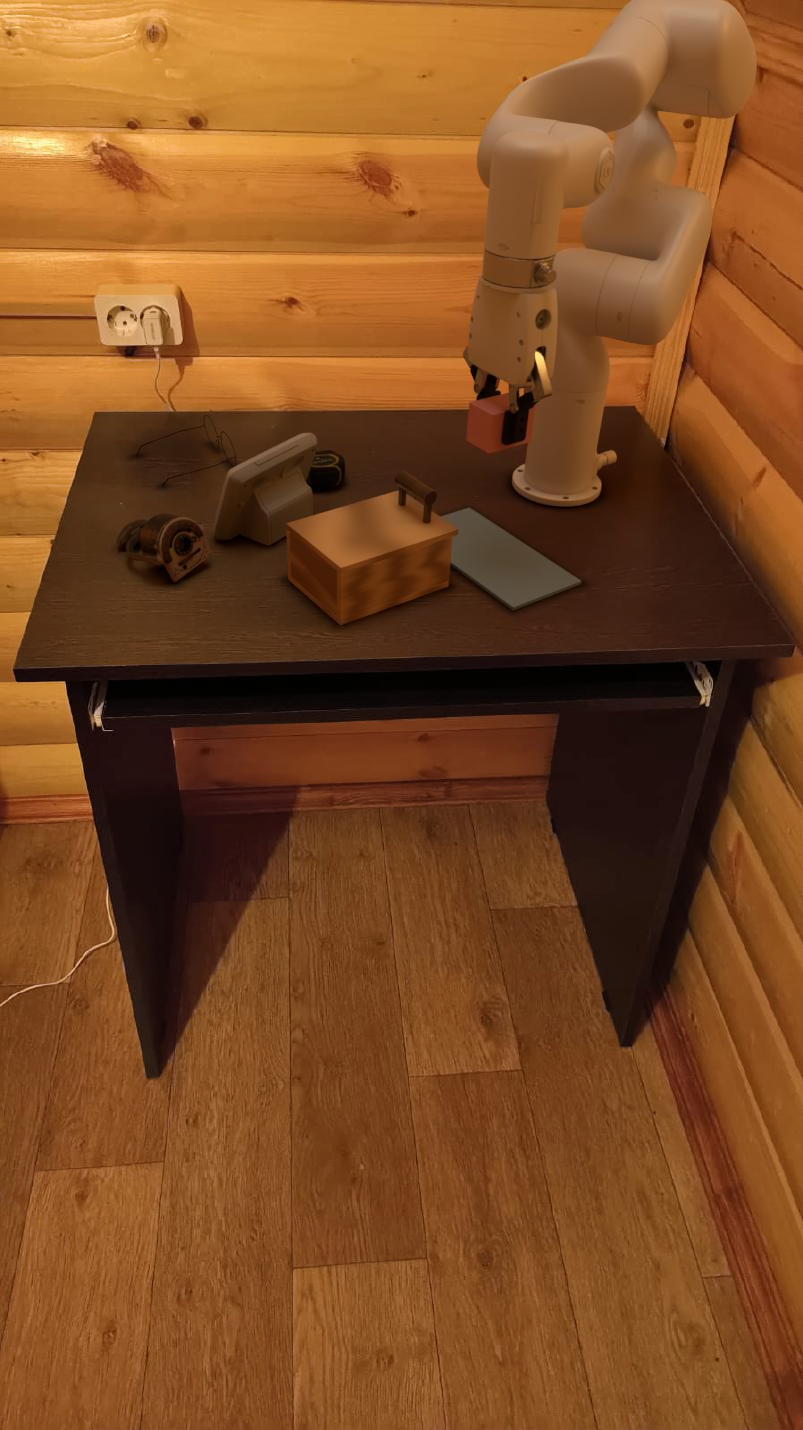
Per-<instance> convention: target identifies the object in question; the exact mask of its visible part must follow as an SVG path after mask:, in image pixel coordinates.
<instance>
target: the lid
mask: <svg viewBox="0 0 803 1430" xmlns="http://www.w3.org/2000/svg"><path fill="white" fill-rule="evenodd" d="M394 483H395V485H396V486H398V490H395V491H391V492H388V493H385V494H381V495H378V496H374V497H371V498H367V499H364V500H360V501H357V502H353V503H351V504H348V505H344V506H340V507H337V508H333V509H330V510H328V511H323V512H319V513H317V514H313V516H309V517H306V518H303V519H299V520H296V521H292V522H289V523H286V529H287V530H288V531H289V532H291V533H292V534H293V535H294V536H295V537H297V538H298V539H299V540H300V541H301V542H303V543H304V544H305V545H306V546H308V547H309V548H310V549H311V550H312V551H314V552H315V553H316V554H317V555H318V556H320V557H321V558H322V559H323V560H325V561H326V562H327V563H328V564H329V565H331V566H332V567H333V568H334V569H336V570H337V571H338V572H339V573H340V574H341V573H345V572H348V571H351V570H354V569H357V568H360V567H363V566H366V565H369V564H372V563H375V562H378V561H381V560H384V559H387V558H390V557H393V556H396V555H399V554H402V553H405V552H408V551H411V550H414V549H417V548H420V547H423V546H426V545H429V544H432V543H435V542H438V541H441V540H444V539H447V538H450V537H453V536H456V535H458V529H457V528H456V527H455V526H453V525H452V524H450V523H449V522H447V521H446V520H444V519H443V518H441V516H440V515H439V514H437V513H435V511H433V510H432V509H433V505H434V504H435V502H437V499H438V493H437V492H436V491H435V490H434V489H432V488H431V487H429V486H427V485H426V484H425V483H424V482H422V481H421V480H419V479H417V478H416V477H415V476H412V475H411V474H410V473H409V472H407V471H405V470H400V471H398V472H397V473H396V474H395V477H394ZM412 496H413V497H412ZM417 499H418V500H419V501H420V502H419V501H418V500H417ZM421 502H422V503H421Z"/></svg>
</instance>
